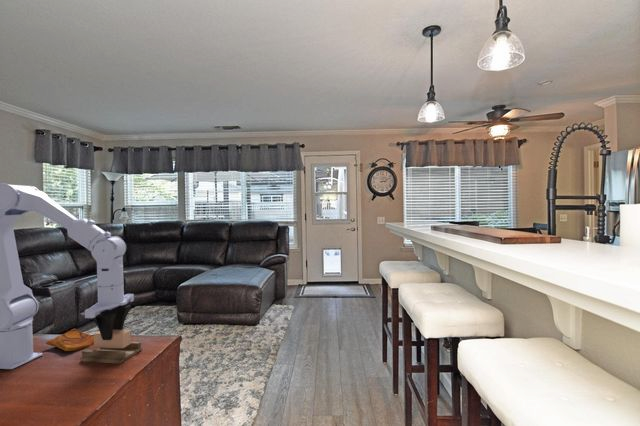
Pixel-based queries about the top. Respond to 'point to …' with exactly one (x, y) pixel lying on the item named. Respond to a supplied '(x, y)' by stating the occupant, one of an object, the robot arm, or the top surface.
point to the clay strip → (113, 339)
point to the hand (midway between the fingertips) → (112, 336)
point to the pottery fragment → (72, 340)
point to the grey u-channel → (111, 354)
